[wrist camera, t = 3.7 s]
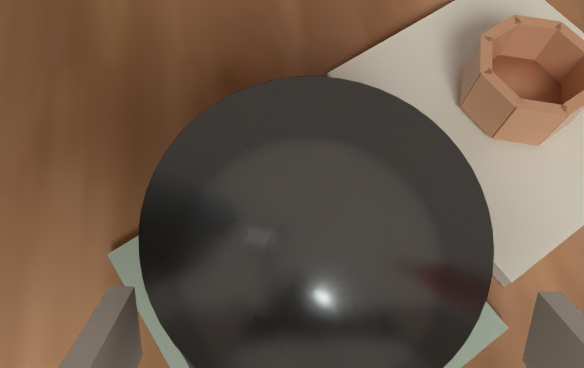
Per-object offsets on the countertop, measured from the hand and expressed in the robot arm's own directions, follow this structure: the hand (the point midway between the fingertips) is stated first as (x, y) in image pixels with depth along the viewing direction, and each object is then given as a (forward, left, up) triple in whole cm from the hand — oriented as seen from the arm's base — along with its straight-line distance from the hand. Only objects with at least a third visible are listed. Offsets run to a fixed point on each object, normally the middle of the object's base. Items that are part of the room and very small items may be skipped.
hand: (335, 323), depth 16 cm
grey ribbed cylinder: (-3, +1, -7) cm, 8 cm away
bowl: (-5, +17, -7) cm, 19 cm away
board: (-5, +17, -8) cm, 19 cm away
